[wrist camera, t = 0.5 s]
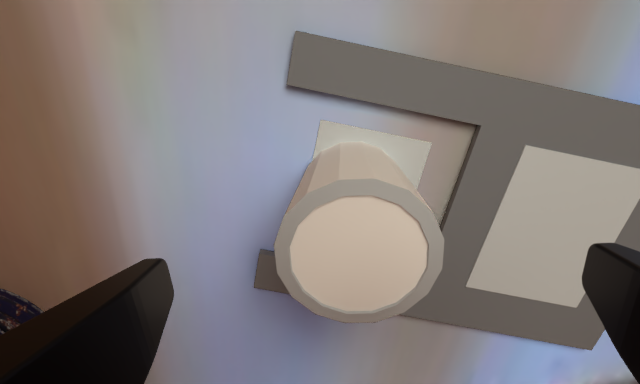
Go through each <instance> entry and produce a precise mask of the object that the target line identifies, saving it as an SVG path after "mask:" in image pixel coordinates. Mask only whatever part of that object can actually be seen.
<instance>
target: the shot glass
mask: <svg viewBox="0 0 640 384" xmlns="http://www.w3.org/2000/svg"><path fill="white" fill-rule="evenodd" d="M274 251H275V259H276V268H277V274H278V275H279V277H280V278H281V280H282V282H283V283H284V285H285V287H286V288H287V290H288V291H289V293H290V295H291V296H292V297H293V298H294V299H295V300H297V301H298V302H300V303H301V304H302V305H304V306H305V307H306V308H308V309H309V310H310V311H312V312H313V313H315V314H317V315H320V316H323V317H326V318H330V319H333V320H336V321H340V322H343V323H369V322H378V321H381V320H384V319H387V318H390V317H392V316H395V315H398V314H401V313H404V312H406V311H407V310H408V309H409V308H411V307H412V306H413V305H414V304H416V303H417V302H418V301H419V300H421V299H422V298H423V297H425V296H426V295H427V294H428V293H429V291H430V289H431V288H432V286H433V284H434V282H435V281H436V279H437V277H438V275H439V274H440V272H441V270H442V266H443V253H444V237H443V235H442V233H441V230H440V228H439V225H438V223H437V221H436V218H435V216H434V213H433V211H432V210H431V209H430V207H429V206H428V205H427V203H426V202H425V201H424V199H423V198H422V197H421V195H420V194H419V193H418V191H417V190H416V189H415V187H414V186H413V185H412V183H411V182H410V181H409V179H408V178H407V177H406V175H405V174H404V173H403V171H402V170H401V169H400V167H399V166H398V165H397V164H396V162H395V161H394V160H393V159H392V158H391V157H390V156H388V155H387V154H386V153H385V152H384V151H383V150H382V149H381V148H378V147H376V146H373V145H370V144H367V143H364V142H361V141H360V142H340V143H338V144H336V145H334V146H331V147H329V148H327V149H325V150H322V151H321V152H320V153H319V154H318V155H317V157H316V158H315V159H314V160H313V161H312V162H311V163H310V164H309V165H308V167H307V169H306V171H305V173H304V176H303V178H302V180H301V182H300V184H299V186H298V188H297V190H296V192H295V194H294V196H293V199H292V201H291V203H290V205H289V207H288V209H287V211H286V213H285V215H284V217H283V220H282V223H281V226H280V229H279V232H278V234H277V237H276V240H275V243H274Z"/></svg>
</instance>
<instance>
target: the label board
mask: <svg viewBox="0 0 640 384" xmlns="http://www.w3.org/2000/svg"><path fill="white" fill-rule="evenodd" d="M287 85H291V86H296V87H300V88H305V89H310V90H315V91H319V92H324V93H329V94H334V95H338V96H343V97H348V98H353V99H357V100H362V101H367V102H372V103H376V104H381V105H386V106H391V107H395V108H400V109H405V110H410V111H414V112H419V113H424V114H429V115H434V116H438V117H443V118H448V119H453V120H457V121H462V122H467V123H472V124H476V125H477V128H476V131H475V134H474V136H473V139H472V142H471V144H470V147H469V150H468V153H467V155H466V158H465V161H464V163H463V166H462V169H461V172H460V174H459V177H458V180H457V183H456V185H455V188H454V191H453V193H452V196H451V199H450V202H449V204H448V207H447V210H446V213H445V215H444V218H443V221H442V223H441V226H440V230H441V233H442V235H443V237H444V253H443V266H442V270H441V272H440V274H439V275H438V277H437V279H436V281H435V282H434V284H433V286H432V288H431V289H430V291H429V293H428V294H427V295H426V296H425V297H423V298H422V299H421V300H419V301H418V302H417V303H416V304H414V305H413V306H412V307H411V308H409V309H408V310H407V311H406V312H404V313H401V314H399V315H404V316H410V317H415V318H421V319H426V320H431V321H437V322H442V323H447V324H453V325H458V326H463V327H469V328H474V329H480V330H485V331H490V332H496V333H501V334H506V335H512V336H517V337H523V338H528V339H533V340H539V341H544V342H549V343H555V344H560V345H566V346H571V347H576V348H582V349H587V350H592V349H593V347H594V346H595V344H596V343H597V341H598V339H599V338H600V336H601V335H602V333H603V331H604V330H605V328H604V326H603V324H602V322H601V320H600V318H599V316H598V315H597V313H596V311H595V309H594V307H593V305H592V303H591V302H590V300H589V298H588V296H587V294H586V292H585V290H584V288H583V285H582V273H583V269H584V265H585V260H586V256H587V252H588V249H589V247H590V246H591V245H592V244H594V243H617V244H620V245H622V246H625V247H628V248H631V249H634V250H637V251H640V105H636V104H632V103H627V102H623V101H618V100H613V99H609V98H604V97H600V96H595V95H590V94H586V93H581V92H576V91H572V90H567V89H563V88H558V87H553V86H549V85H544V84H540V83H535V82H530V81H526V80H521V79H516V78H512V77H507V76H503V75H498V74H493V73H489V72H484V71H480V70H475V69H470V68H466V67H461V66H456V65H452V64H447V63H443V62H438V61H433V60H429V59H424V58H420V57H415V56H410V55H406V54H401V53H396V52H392V51H387V50H383V49H378V48H373V47H369V46H364V45H360V44H355V43H350V42H346V41H341V40H336V39H332V38H327V37H323V36H318V35H313V34H309V33H304V32H300V31H295V37H294V43H293V49H292V55H291V61H290V67H289V73H288V80H287ZM360 141H361V142H364V143H367V144H370V145H373V146H376V147H378V148H381V149H382V150H383V151H384V152H385V153H386V154H387V155H388V156H390V157H391V158H392V159H393V160H394V161H395V162H396V164H397V165H398V166H399V167H400V169H401V170H402V171H403V173H404V174H405V175H406V177H407V178H408V179H409V181H410V182H411V183H412V185H413V186H414V187H415V189H416V190H417V187H418V184H419V181H420V178H421V175H422V172H423V169H424V166H425V163H426V160H427V157H428V154H429V151H430V147H431V144H432V143H431V142H426V141H422V140H417V139H412V138H407V137H402V136H397V135H393V134H388V133H383V132H378V131H373V130H368V129H364V128H359V127H354V126H349V125H344V124H339V123H335V122H330V121H325V120H321V121H320V126H319V131H318V136H317V141H316V146H315V150H314V155H313V160H314V159H315V158H316V157H317V155H318V154H319V153H320V152H321V151H322V150H325V149H327V148H329V147H331V146H334V145H336V144H338V143H340V142H360ZM313 160H312V161H313ZM254 288H259V289H265V290H270V291H275V292H281V293H286V294H290V293H289V291H288V290H287V288H286V287H285V285H284V283H283V282H282V280H281V278H280V277H279V275H278V274H277V268H276V259H275V252H273V251H267V250H262V249H260V253H259V258H258V264H257V270H256V276H255V282H254Z"/></svg>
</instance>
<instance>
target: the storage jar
mask: <svg viewBox="0 0 640 384" xmlns="http://www.w3.org/2000/svg"><path fill="white" fill-rule="evenodd" d="M41 313H43V311H42V310H41V309H39V308H38V307H37V306H35V305H34V304H32V303H31V302H29V301H28V300H26V299H24V298H22V297H20V296H19V295H16V294H14V293H11V292H9V291H7V290H3V289H0V335H2V334H4V333H5V332H7V331H9V330H11V329H13V328H15V327H17V326H19V325H21V324H22V323H24V322H26V321H28V320H30V319H32V318H34V317H36V316H38V315H40V314H41Z"/></svg>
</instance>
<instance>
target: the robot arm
mask: <svg viewBox="0 0 640 384" xmlns="http://www.w3.org/2000/svg"><path fill="white" fill-rule="evenodd" d="M582 285H583V288H584V290H585V292H586V294H587V296H588V298H589V300H590V302H591V303H592V305H593V307H594V309H595V311H596V313H597V315H598V316H599V318H600V320H601V322H602V324H603V326H604V328H605V330H606V331H607V333H608V335H609V337H610V339H611V341H612V343H613V344H614V346H615V348H616V350H617V351H618V353H619V355H620V356H621V358H622V359H623V361H624V362H625V364H626V366H627V367H628V369H629V370H630V372H631V373H632V374H633V376H634V377H635V379H636V380H637V382H638V383H639V384H640V251H637V250H634V249H631V248H628V247H625V246H622V245H620V244H617V243H594V244H592V245H591V246H590V247H589V249H588V252H587V256H586V260H585V265H584V269H583V273H582ZM173 297H174V290H173V285H172V281H171V278H170V274H169V270H168V266H167V263H166V261H165V260H164V259H161V258H155V259H144V260H142V261H140V262H138V263H136V264H134V265H132V266H131V267H129V268H127V269H125V270H123V271H121V272H119V273H117V274H115V275H113V276H112V277H110V278H108V279H106V280H104V281H102V282H100V283H98V284H96V285H95V286H93V287H91V288H89V289H87V290H85V291H83V292H81V293H79V294H77V295H76V296H74V297H72V298H70V299H68V300H66V301H64V302H62V303H60V304H59V305H57V306H55V307H53V308H51V309H49V310H47V311H45V312H43V313H41V314H40V315H38V316H36V317H34V318H32V319H30V320H28V321H26V322H24V323H22V324H21V325H19V326H17V327H15V328H13V329H11V330H9V331H7V332H5V333H4V334H2V335H0V384H144V382H145V380H146V378H147V375H148V373H149V371H150V368H151V366H152V363H153V361H154V358H155V355H156V352H157V349H158V346H159V343H160V340H161V337H162V333H163V330H164V327H165V324H166V321H167V318H168V314H169V311H170V308H171V305H172V302H173Z"/></svg>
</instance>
